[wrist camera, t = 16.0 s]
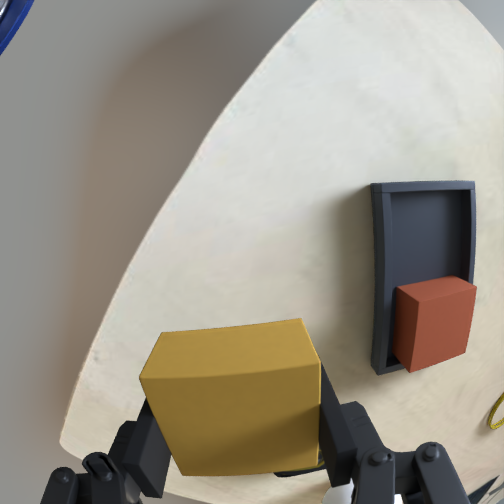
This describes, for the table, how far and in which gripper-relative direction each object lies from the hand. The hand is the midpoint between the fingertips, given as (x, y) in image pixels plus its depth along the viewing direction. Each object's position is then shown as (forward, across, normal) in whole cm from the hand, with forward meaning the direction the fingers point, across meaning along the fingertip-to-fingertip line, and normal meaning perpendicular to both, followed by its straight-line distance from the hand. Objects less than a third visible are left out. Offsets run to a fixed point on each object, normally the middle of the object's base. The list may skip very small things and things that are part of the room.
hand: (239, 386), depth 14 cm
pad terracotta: (+10, +18, -3) cm, 20 cm away
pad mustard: (0, 0, 0) cm, 0 cm away
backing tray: (+10, +18, +1) cm, 20 cm away
